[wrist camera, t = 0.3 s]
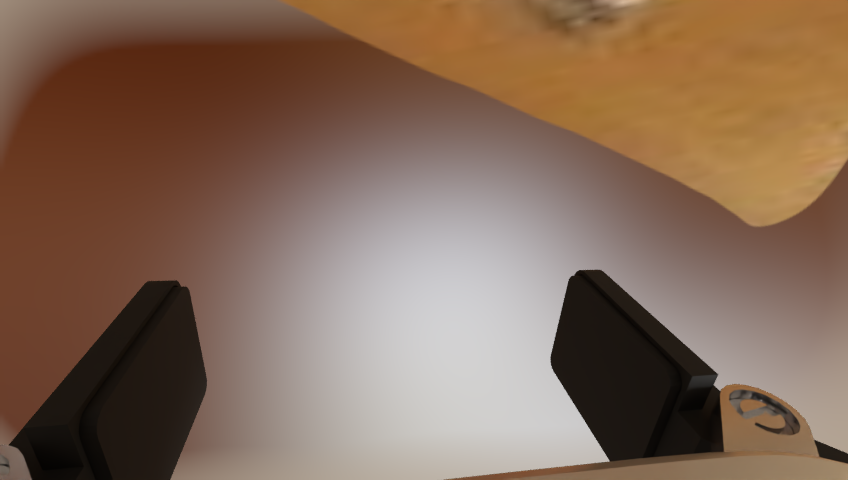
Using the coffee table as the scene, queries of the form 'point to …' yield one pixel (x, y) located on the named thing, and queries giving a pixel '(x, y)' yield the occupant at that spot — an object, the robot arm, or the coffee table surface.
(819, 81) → the coffee table surface
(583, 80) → the coffee table surface
